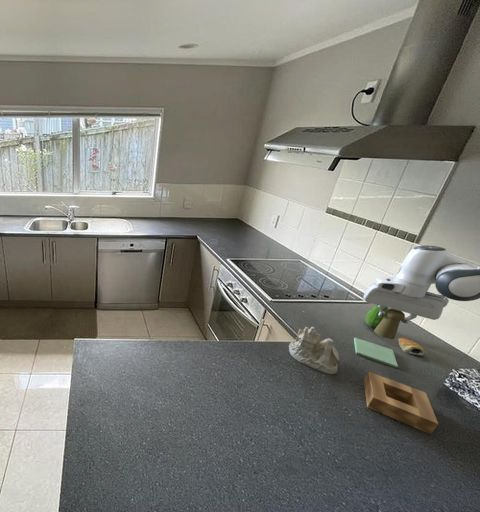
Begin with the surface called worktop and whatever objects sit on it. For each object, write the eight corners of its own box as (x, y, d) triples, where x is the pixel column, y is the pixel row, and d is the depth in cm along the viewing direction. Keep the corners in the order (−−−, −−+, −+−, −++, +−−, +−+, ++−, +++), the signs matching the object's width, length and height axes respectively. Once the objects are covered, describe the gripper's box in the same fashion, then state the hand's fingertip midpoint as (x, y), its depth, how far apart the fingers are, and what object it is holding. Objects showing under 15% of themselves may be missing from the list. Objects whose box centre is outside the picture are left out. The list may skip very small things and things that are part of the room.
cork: (388, 340, 107) (401, 316, 102) (370, 330, 112) (382, 307, 108) (398, 337, 108) (412, 314, 104) (380, 328, 114) (392, 305, 109)
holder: (419, 402, 92) (425, 392, 90) (430, 434, 82) (438, 423, 80) (363, 380, 100) (368, 371, 98) (367, 407, 89) (373, 397, 88)
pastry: (392, 339, 122) (396, 332, 121) (412, 344, 120) (416, 336, 119) (404, 353, 114) (408, 345, 113) (425, 358, 112) (430, 350, 111)
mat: (391, 351, 115) (392, 349, 115) (397, 368, 106) (398, 366, 106) (353, 339, 122) (354, 337, 121) (355, 353, 113) (356, 352, 112)
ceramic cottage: (333, 378, 100) (348, 343, 95) (282, 354, 111) (292, 321, 106) (342, 361, 110) (355, 328, 105) (293, 340, 121) (304, 310, 116)
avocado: (358, 324, 132) (369, 302, 128) (367, 320, 135) (378, 299, 131) (379, 334, 126) (391, 311, 121) (388, 330, 129) (400, 308, 124)
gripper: (448, 293, 99) (429, 326, 104) (371, 276, 110) (357, 306, 115) (454, 301, 94) (433, 334, 99) (373, 281, 105) (358, 312, 111)
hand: (392, 319), depth 107 cm, fingers closed on cork, 5 cm apart
